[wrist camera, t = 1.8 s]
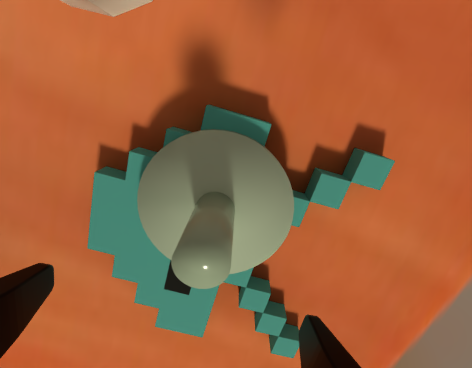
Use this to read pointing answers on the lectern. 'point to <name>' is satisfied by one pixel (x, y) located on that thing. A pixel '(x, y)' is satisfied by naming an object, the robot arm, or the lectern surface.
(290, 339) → the alien figure
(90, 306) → the lectern surface
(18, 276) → the robot arm
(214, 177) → the lid
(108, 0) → the bowl
